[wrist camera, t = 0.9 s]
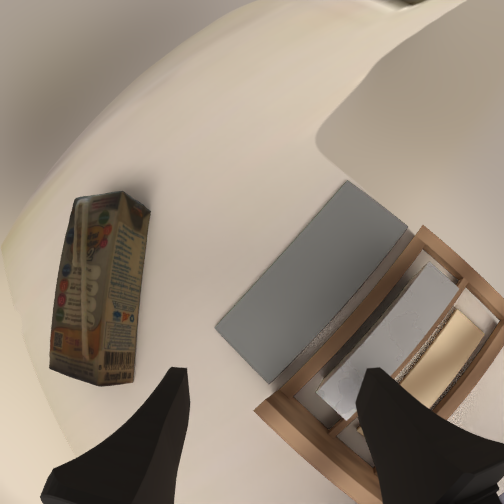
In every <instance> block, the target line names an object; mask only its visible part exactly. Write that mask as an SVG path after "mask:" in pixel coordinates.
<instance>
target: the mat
mask: <svg viewBox="0 0 504 504" xmlns="http://www.w3.org/2000/svg"><path fill="white" fill-rule="evenodd" d="M407 228H408V226H407V225H406V224H405V223H403V222H402V221H401V220H400V219H398V218H397V217H396V216H394V215H393V214H392V213H391V212H389V211H388V210H387V209H385V208H384V207H383V206H382V205H380V204H379V203H378V202H376V201H375V200H374V199H372V198H371V197H370V196H368V195H367V194H366V193H364V192H363V191H362V190H360V189H359V188H357V187H356V186H355V185H353V184H352V183H351V182H349V181H348V180H347V181H346V183H345V184H344V185H343V186H342V187H341V188H340V189H339V191H338V192H337V193H336V194H335V195H334V196H333V197H332V198H331V200H330V201H329V202H328V203H327V204H326V205H325V206H324V208H323V209H322V210H321V211H320V212H319V213H318V214H317V215H316V217H315V218H314V219H313V220H312V221H311V222H310V223H309V224H308V226H307V227H306V228H305V229H304V230H303V231H302V232H301V233H300V235H299V236H298V237H297V238H296V239H295V240H294V241H293V242H292V243H291V245H290V246H289V247H288V248H287V249H286V250H285V251H284V252H283V253H282V255H281V256H280V257H279V258H278V259H277V260H276V261H275V262H274V263H273V265H272V266H271V267H270V268H269V269H268V270H267V271H266V272H265V273H264V274H263V276H262V277H261V278H260V279H259V280H258V281H257V282H256V283H255V284H254V285H253V286H252V288H251V289H250V290H249V291H248V292H247V293H246V294H245V295H244V296H243V297H242V298H241V300H240V301H239V302H238V303H237V304H236V305H235V306H234V307H233V308H232V309H231V310H230V311H229V312H228V314H227V315H226V316H225V317H224V318H223V319H222V320H221V321H220V322H219V323H218V324H217V325H216V326H215V329H216V330H217V331H218V332H219V333H220V334H221V336H222V337H223V338H224V339H225V340H226V341H227V342H228V343H229V344H230V345H231V346H232V347H233V348H234V349H235V350H236V351H237V352H238V353H239V354H240V356H241V357H242V358H243V359H244V360H245V361H246V362H247V363H248V364H249V365H250V366H251V367H252V368H253V369H254V370H255V371H256V372H257V373H258V374H259V375H260V376H261V377H262V378H263V379H264V380H265V381H266V382H267V383H268V384H270V383H271V382H272V381H273V380H274V379H275V378H276V377H277V376H278V375H279V374H280V373H281V372H282V371H283V370H284V369H285V368H286V367H287V366H288V365H289V364H290V363H291V362H292V361H293V360H294V359H295V358H296V357H297V356H298V355H299V354H300V353H301V352H302V351H303V350H304V349H305V348H306V347H307V346H308V345H309V344H310V342H311V341H312V340H313V339H314V338H315V337H316V336H317V335H318V334H319V333H320V332H321V331H322V330H323V329H324V327H325V326H326V325H327V324H328V323H329V322H330V321H331V320H332V319H333V318H334V316H335V315H336V314H337V313H338V312H339V311H340V310H341V309H342V308H343V306H344V305H345V304H346V303H347V302H348V301H349V300H350V298H351V297H352V296H353V295H354V294H355V293H356V291H357V290H358V289H359V288H360V287H361V286H362V284H363V283H364V282H365V281H366V280H367V278H368V277H369V276H370V275H371V274H372V272H373V271H374V270H375V269H376V268H377V266H378V265H379V264H380V263H381V261H382V260H383V259H384V258H385V256H386V255H387V254H388V253H389V251H390V250H391V249H392V248H393V246H394V245H395V244H396V242H397V241H398V240H399V239H400V237H401V236H402V235H403V233H404V232H405V231H406V229H407Z"/></svg>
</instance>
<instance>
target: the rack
mask: <svg viewBox="0 0 504 504" xmlns="http://www.w3.org/2000/svg"><path fill="white" fill-rule="evenodd" d="M422 249H424V250H425V251H426V252H427V253H428V254H429V255H431V256H432V257H433V258H434V259H435V260H436V261H437V262H439V263H440V264H441V265H442V266H443V267H444V268H445V269H446V270H448V271H449V272H450V273H451V274H452V275H453V276H454V277H455V278H456V279H457V280H459V281H458V282H457V284H456V286H457V287H458V288H459V290H458V291H457V293H456V294H455V296H454V297H453V299H452V300H451V302H450V303H449V304H448V306H447V307H446V309H445V310H444V311H443V313H442V314H441V315H440V317H439V318H438V319H437V321H436V322H435V323H434V325H433V326H432V327H431V329H430V330H429V331H428V332H427V334H426V335H425V336H424V337H423V339H422V340H421V341H420V342H419V344H418V345H417V346H416V347H415V348H414V350H413V351H412V352H411V353H410V354H409V356H408V357H407V358H406V359H405V360H404V361H403V363H402V364H401V365H400V366H399V367H398V368H397V369H396V371H395V372H394V373H393V374H392V375H391V377H392V378H393V379H394V378H395V377H396V376H397V375H398V374H399V373H400V371H401V370H402V369H403V368H404V367H405V366H406V365H407V363H408V362H409V361H410V360H411V359H412V358H413V356H414V355H415V354H416V353H417V352H418V350H419V349H420V348H421V347H422V345H423V344H424V343H425V342H426V340H427V339H428V338H429V337H430V335H431V334H432V333H433V332H434V330H435V329H436V328H437V326H438V325H439V324H440V322H441V321H442V320H443V318H444V317H445V316H446V314H447V313H448V312H449V310H450V309H451V307H452V306H453V305H454V303H455V302H456V300H457V299H458V297H459V296H460V294H461V293H462V291H463V290H464V288H465V287H466V288H467V289H468V290H469V291H470V292H471V293H472V294H473V295H474V296H476V297H477V298H478V299H479V300H480V301H481V302H482V303H483V304H484V305H485V306H486V307H487V308H488V309H489V310H490V311H491V312H492V313H493V314H494V315H495V316H496V317H497V318H498V319H499V320H500V321H499V323H498V325H497V326H496V328H495V329H494V331H493V332H492V334H491V335H490V337H489V338H488V340H487V341H486V343H485V344H484V346H483V347H482V349H481V350H480V351H479V353H478V354H477V356H476V357H475V358H474V360H473V361H472V362H471V364H470V365H469V366H468V368H467V369H466V370H465V372H464V373H463V374H462V376H461V377H460V378H459V379H458V381H457V382H456V383H455V384H454V386H453V387H452V388H451V389H450V391H449V392H448V393H447V394H446V395H445V396H444V398H443V399H442V400H441V401H440V402H439V403H438V405H437V406H436V407H435V408H434V409H433V410H432V411H433V412H434V413H436V414H437V415H439V416H440V417H442V418H443V419H445V420H447V419H448V418H449V417H450V416H451V415H452V413H453V412H454V411H455V410H456V409H457V408H458V406H459V405H460V404H461V403H462V402H463V400H464V399H465V398H466V397H467V395H468V394H469V393H470V392H471V390H472V389H473V388H474V387H475V385H476V384H477V383H478V381H479V380H480V379H481V377H482V376H483V375H484V373H485V372H486V371H487V369H488V368H489V366H490V365H491V364H492V362H493V361H494V359H495V358H496V356H497V355H498V353H499V352H500V350H501V349H502V347H503V346H504V298H503V297H502V296H501V295H500V294H499V293H498V292H497V291H496V290H495V289H494V288H493V287H492V286H491V285H490V284H489V283H488V282H487V281H486V280H485V279H484V278H482V277H481V276H480V275H479V274H478V273H477V272H476V271H475V270H474V269H473V268H472V267H471V266H470V265H469V264H467V262H465V261H464V260H463V259H462V258H461V257H460V256H459V255H458V254H457V253H455V252H454V251H453V250H452V249H451V248H450V247H449V246H447V245H446V244H445V243H444V242H443V241H442V240H441V239H439V238H438V237H437V236H436V235H435V234H433V233H432V232H431V231H430V230H429V229H427V228H426V227H425V226H424V225H422V227H421V228H420V230H419V231H418V232H417V234H416V235H415V236H414V238H413V239H412V240H411V242H410V243H409V244H408V246H407V247H406V248H405V250H404V251H403V252H402V254H401V255H400V256H399V257H398V259H397V260H396V261H395V263H394V264H393V265H392V266H391V268H390V269H389V270H388V271H387V273H386V274H385V275H384V276H383V277H382V279H381V280H380V281H379V282H378V284H377V285H376V286H375V287H374V288H373V290H372V291H371V292H370V293H369V294H368V296H367V297H366V298H365V299H364V300H363V301H362V303H361V304H360V305H359V306H358V307H357V308H356V310H355V311H354V312H353V313H352V314H351V315H350V316H349V318H348V319H347V320H346V321H345V322H344V323H343V324H342V325H341V326H340V328H339V329H338V330H337V331H336V332H335V333H334V334H333V335H332V336H331V337H330V338H329V340H328V341H327V342H326V343H325V344H324V345H323V346H322V347H321V348H320V349H319V350H318V351H317V352H316V353H315V354H314V355H313V356H312V357H311V358H310V359H309V361H308V362H307V363H306V364H305V365H304V366H303V367H302V368H301V369H300V370H299V371H298V372H297V373H296V374H295V375H294V376H293V377H292V378H291V379H290V380H289V381H288V382H287V383H285V384H284V385H283V386H282V387H281V388H280V389H279V390H278V391H276V392H275V393H274V394H272V395H271V396H270V397H268V398H267V399H265V400H264V401H263V402H262V403H261V404H260V405H259V406H258V407H257V408H256V409H255V410H253V411H254V412H255V413H256V414H257V415H258V416H259V417H260V418H261V419H262V420H263V421H264V422H265V423H266V424H267V425H269V426H270V427H271V428H272V429H273V430H274V431H275V432H276V433H277V434H278V435H279V436H280V437H281V438H282V439H283V440H284V441H285V442H286V443H288V444H289V445H290V446H291V447H292V448H293V449H294V450H295V451H296V452H297V453H298V454H300V455H301V456H302V457H303V458H304V459H305V460H306V461H307V462H309V463H310V464H311V465H312V466H313V467H314V468H315V469H317V470H318V471H319V472H320V473H321V474H322V475H324V476H325V477H326V478H327V479H328V480H330V481H331V482H332V483H333V484H334V485H336V486H337V487H338V488H339V489H340V490H342V491H343V492H344V493H345V494H347V495H348V496H349V497H350V498H352V499H353V500H354V501H356V502H357V503H358V504H383V501H382V495H381V489H380V484H379V479H378V475H377V470H376V467H374V468H372V467H371V466H370V465H369V464H368V463H366V462H365V461H364V460H363V459H362V458H360V457H359V456H358V455H357V454H356V453H355V452H353V451H352V450H351V449H350V448H349V447H348V446H347V445H345V444H344V443H343V442H342V441H341V440H340V439H339V438H337V437H336V436H337V435H338V434H339V433H340V432H341V431H342V430H343V429H344V428H346V427H347V426H348V425H349V424H350V423H351V422H352V421H353V420H354V419H355V418H356V417H357V416H358V414H357V411H356V412H355V413H354V414H353V415H352V416H351V417H350V418H349V419H348V420H347V421H346V420H345V419H344V418H343V417H342V418H341V419H340V420H339V421H338V422H337V423H336V424H335V425H334V426H332V427H331V428H330V429H327V428H326V427H325V426H324V425H323V424H322V423H321V422H320V421H319V420H318V419H316V418H315V417H314V416H313V415H312V414H311V413H310V412H309V411H308V410H307V409H306V408H305V407H304V406H302V405H301V404H300V403H299V402H298V401H297V400H296V399H295V398H294V397H293V396H294V395H295V394H296V393H297V392H298V391H299V390H300V389H301V388H302V387H303V386H304V385H305V384H306V383H307V382H308V381H309V380H310V379H311V378H312V377H313V376H314V375H315V374H316V373H317V372H318V371H319V370H320V369H321V368H322V367H323V366H324V365H325V364H326V363H327V362H328V361H329V360H330V359H331V358H332V357H333V356H334V355H335V354H336V353H337V352H338V350H339V349H340V348H341V347H342V346H343V345H344V344H345V343H346V342H347V341H348V340H349V339H350V337H351V336H352V335H353V334H354V333H355V332H356V331H357V330H358V329H359V327H360V326H361V325H362V324H363V323H364V322H365V321H366V319H367V318H368V317H369V316H370V315H371V314H372V312H373V311H374V310H375V309H376V308H377V307H378V305H379V304H380V303H381V302H382V301H383V299H384V298H385V297H386V296H387V294H388V293H389V292H390V291H391V290H392V288H393V287H394V286H395V285H396V283H397V282H398V281H399V279H400V278H401V277H402V276H403V274H404V273H405V272H406V270H407V269H408V268H409V267H410V265H411V264H412V263H413V261H414V260H415V259H416V257H417V256H418V255H419V253H420V252H421V251H422Z"/></svg>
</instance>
